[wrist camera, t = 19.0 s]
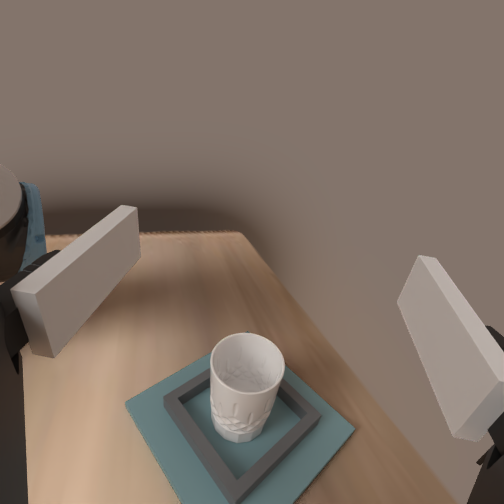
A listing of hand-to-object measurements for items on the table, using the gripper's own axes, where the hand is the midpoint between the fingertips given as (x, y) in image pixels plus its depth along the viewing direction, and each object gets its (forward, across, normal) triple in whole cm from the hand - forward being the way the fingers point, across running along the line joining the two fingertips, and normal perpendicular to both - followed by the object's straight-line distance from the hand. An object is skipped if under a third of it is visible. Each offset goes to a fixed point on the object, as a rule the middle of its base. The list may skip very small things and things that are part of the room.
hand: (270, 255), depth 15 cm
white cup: (+10, 0, -29) cm, 31 cm away
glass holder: (+10, 0, -30) cm, 32 cm away
